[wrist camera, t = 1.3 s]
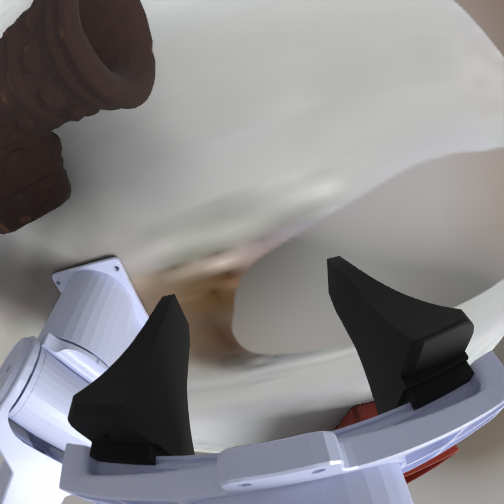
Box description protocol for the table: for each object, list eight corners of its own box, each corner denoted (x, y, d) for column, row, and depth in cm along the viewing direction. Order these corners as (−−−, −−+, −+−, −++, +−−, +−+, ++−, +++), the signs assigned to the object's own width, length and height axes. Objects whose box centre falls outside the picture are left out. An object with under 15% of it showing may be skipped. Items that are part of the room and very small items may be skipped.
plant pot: (309, 443, 49) (326, 511, 35) (341, 398, 40) (372, 489, 26) (384, 426, 52) (406, 484, 38) (426, 379, 43) (462, 448, 29)
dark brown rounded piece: (-26, 256, 13) (116, 203, 11) (-68, 79, 6) (67, -67, 4) (45, 204, 21) (184, 155, 19) (10, 66, 15) (142, -21, 12)
